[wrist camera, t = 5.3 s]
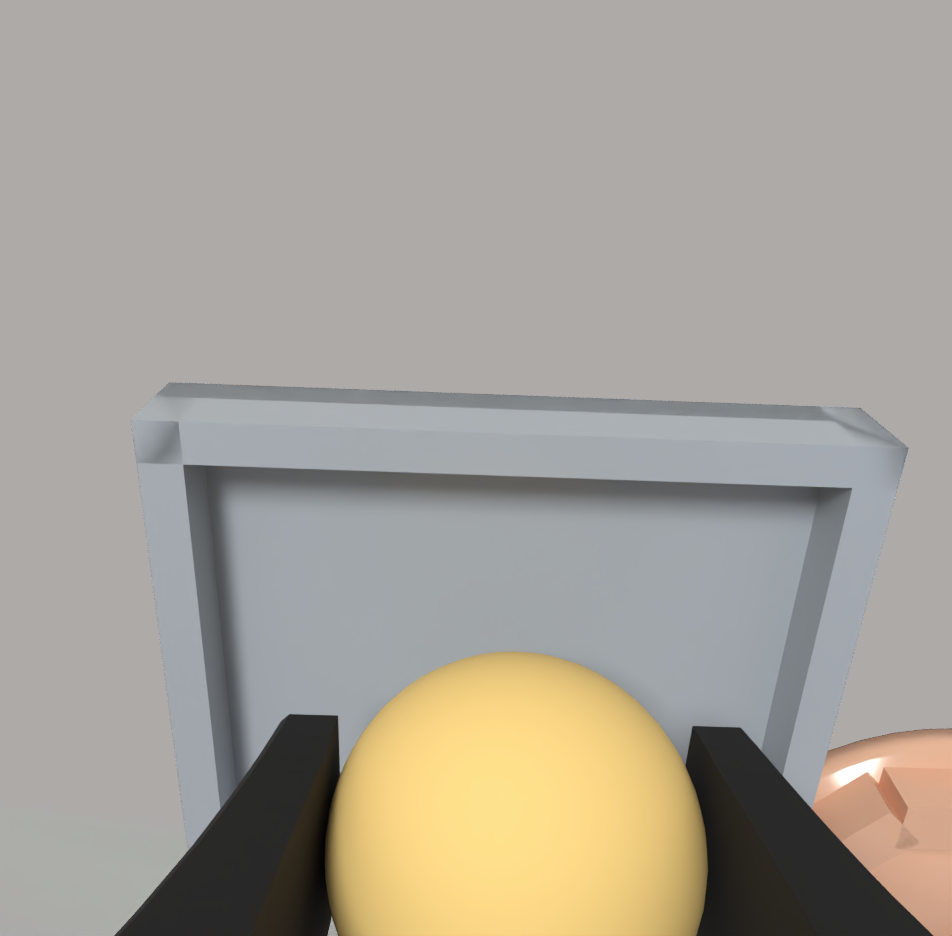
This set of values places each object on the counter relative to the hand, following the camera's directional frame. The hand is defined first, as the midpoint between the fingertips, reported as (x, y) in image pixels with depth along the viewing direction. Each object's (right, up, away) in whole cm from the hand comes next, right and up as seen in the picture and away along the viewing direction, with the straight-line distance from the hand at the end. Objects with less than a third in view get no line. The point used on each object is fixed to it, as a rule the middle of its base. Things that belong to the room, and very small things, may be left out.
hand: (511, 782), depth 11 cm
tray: (0, +1, +3) cm, 3 cm away
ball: (0, 0, -1) cm, 1 cm away
